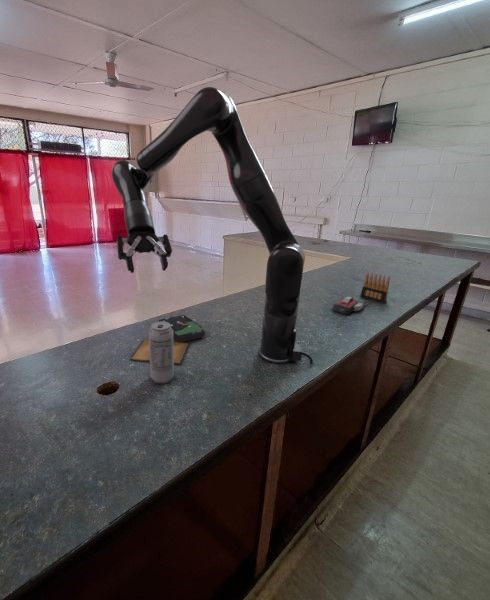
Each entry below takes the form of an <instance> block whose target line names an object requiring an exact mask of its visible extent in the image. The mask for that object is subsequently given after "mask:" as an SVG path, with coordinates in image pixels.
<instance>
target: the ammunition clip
mask: <svg viewBox="0 0 490 600" xmlns="http://www.w3.org/2000/svg"><path fill="white" fill-rule="evenodd" d="M390 280H391V277H390V276H387V278H386V275H383V277H382V274H379V276H378V274H377V273H375V275H374V274H373V272H371V273H370V272H369V271H367V272H366V274H365V278H364V281H363V286H362V288H361V292H360V296H359V297H360V298H363V299H365V300H371V301H374V302H379V303H382V304H386V303H387V299H388V295H389V294H388V293H389V289H390V282H391V281H390Z"/></svg>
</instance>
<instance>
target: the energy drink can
mask: <svg viewBox="0 0 490 600" xmlns="http://www.w3.org/2000/svg"><path fill="white" fill-rule="evenodd" d="M148 340H149V354H150V361H149V375H150V376H149V377H150V378H151V379H152V380H153V382H154V383H156V384H167V383H169V382H170V381H171V380H172V378H173V377H174V375H175V364H174V348H173V342H174V339H173V329H172V328H171V324H170V323H168V322H165V321H159V320H158V321H155V322H152V323H151V324H150V328H149V329H148Z"/></svg>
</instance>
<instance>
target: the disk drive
mask: <svg viewBox="0 0 490 600" xmlns="http://www.w3.org/2000/svg"><path fill="white" fill-rule="evenodd" d="M159 321H165V322H168V323H170V324H171V328H172V329H173V341H174V342H181V343H183V342H186V341H190V340H194V339H198V338H203V337H205V335H206V330H205V329H204V328H203V326H201V325H199V324H198V323H197V322H195V321H194V320H193V319H192V318H189V316H187V315H185V314H181V315H176V316H170V317H169V318H167V319H166V318H161V319H158V322H159Z"/></svg>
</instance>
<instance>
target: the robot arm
mask: <svg viewBox="0 0 490 600" xmlns="http://www.w3.org/2000/svg"><path fill="white" fill-rule="evenodd" d="M205 132H210V133H211V134H212V135H213V137H214V138H215V140H216V142H217V144H218V146H219V148H220V149H221V151H222V154H223V156H224V160H225V164H226V170H227V175H228V180H229V184H230V187H231V189H232V192H233V193H234V196H235V198H236V200H237V203H238V204H239V207H240V208H241V209H242V211H243V212H244V214H245V215H246V216H247V218H248V219H249V220H250V222H251V223H252V224H253V225H254V226H255V228H256V229H257V230H258V231H259V233H260V236H261V237H262V239H263V241H264V243H265V246H266V248H267V251H268V254H269V255H268V258H267V262H266V270H265V284H264V293H265V294H264V295H265V299H264V306H263V307H264V308H263V317H262V318H263V320H262V330H261V338H260V348H259V356H260V357H261V358H262V359H263V360H265V361H267V362H268V363H273V364H285V363H292V362H293V361H299V362H301V361H302V356H304V357H306V358H307V359H308V360H309V364H310V365H313V364H314V361H313V358H312V356H311V355H309V354H308V353H306V352H303V351H302V346H301V344H298V343H297V344H296V337H297V329H296V326H297V320H298V319H297V318H298V312H299V304H300V297H301V288H302V279H303V273H304V266H305V262H306V256H305V252H304V250H303V249H302V247H301V245H300V244H299V242H298V241H297V239H296V237H295V235H294V234H293V233H292V230H291V229H290V227H289V225H288V224H287V222H286V220H285V217H284V214H283V212H282V209H281V206H280V203H279V201H278V198H277V196H276V193H275V191H274V188H273V186H272V184H271V182H270V179H269V178H268V175H267V174H266V172H265V170H264V168H263V165H262V164H261V162H260V160H259V157H258V156H257V154H256V152H255V151H254V148H253V147H252V145H251V143H250V142H249V140H248V137H247V135H246V132H245V129H244V126H243V124H242V121H241V118H240V115H239V113H238V110H237V107H236V104H235V102H234V100H233V98H232V97H231V95H229V94H228V93H226V92H225V91H223V90H221V89H219V88H218V87H217V88H216V87H214V86H205V87H203V88H201V89H199V90H198V91H197V92H196V93H195V94H194V95H193V96H192V98H191V99H190V100H189V101H188V103H187V104H186V105H185V106H184V107H183V109H182V110H181V112H179V113H178V115H176V117H175V118H174V119H173V120H172V121H171V122H170V124H169V125H168V126H167V127H166V128H165V129H164V130H163V131H161V132H160V133H159V134H158V136H156V137H155V138H154V139H152V141H150V142H149V143H147V145H145V146H144V147H143V148H142V149H141V150H139V152H138V153H137V154H136V157H135V160H136V163H137V165H138V166H137V165H135V164H133V163H132V162H130V161H128V160H127V159H119V160H117V161H116V162H115V163H114V164H113V166H112V169H111V178H112V182H113V184H114V186H115V188H116V190H117V192H118V194H119V195H120V198H121V201H122V207H123V217H124V218H123V219H124V223H125V229H126V234H127V237H122V236H121V235H117V236H116V247H117V259H118V260H120V261H121V260H124V261H125V262H126V268H127V271H128V272H130V273H131V274H134V272H135V267H134V261H133V257H134V256H135V255H136V253H138V254H143V253H147V254H149V253H152V254H153V255H155V256H157V257H158V258H159V261H160V265H161V266H160V267H161V269H162V271H167V269H168V266H169V261H168V258H170V257H171V255H172V252H173V248H172V245H171V242H170V239H169V236H168V234H165V233H164V234H163V235H162V236H158V235H157V234H156V229H155V226H154V221H153V215H152V212H151V209H150V206H149V203H148V198H147V194H146V192H145V189H146V188H147V186H148V185H149V183H150V182H151V181H152V179H153V177H154V176H155V175H156V174H157V173H158V172H159V171H160V170H162V169H163V168H165V167H166V166H167V165H168V164H170V163H171V161H173V160H174V159H175V158H176V156H177V155H178V153H179V152H180V150H181V149H182V148H184V146H185V145H186V144H187V143H188V142H189V141H191V140H192V139H193V138H195V137H197V136H199V135H200V134H202V133H205ZM158 242H159V243H160V244H159V243H158ZM126 244H128V246H129V249H128V250H127V252H124V247H125V246H126ZM161 245H162V246H163V248H162V247H161Z"/></svg>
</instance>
